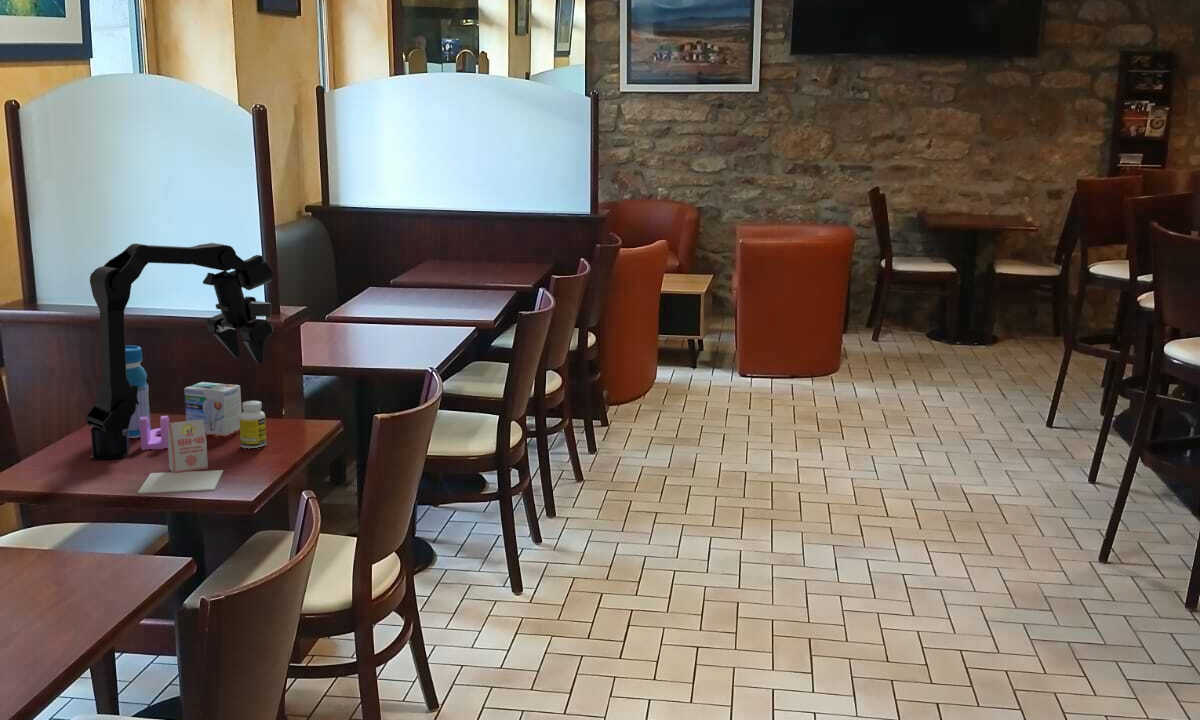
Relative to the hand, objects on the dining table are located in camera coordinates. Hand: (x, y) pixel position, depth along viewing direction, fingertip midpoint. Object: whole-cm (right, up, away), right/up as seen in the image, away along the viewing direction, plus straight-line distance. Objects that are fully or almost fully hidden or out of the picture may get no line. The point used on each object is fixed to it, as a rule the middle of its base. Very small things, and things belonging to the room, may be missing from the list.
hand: (248, 360), depth 265 cm
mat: (-1, -24, -39) cm, 46 cm away
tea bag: (-3, -22, -31) cm, 39 cm away
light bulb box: (-7, -17, -3) cm, 18 cm away
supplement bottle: (+5, -19, -14) cm, 24 cm away
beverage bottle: (-24, -17, -6) cm, 30 cm away
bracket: (-17, -18, -11) cm, 27 cm away
